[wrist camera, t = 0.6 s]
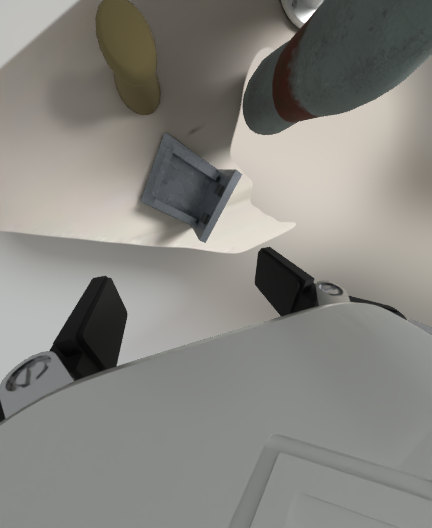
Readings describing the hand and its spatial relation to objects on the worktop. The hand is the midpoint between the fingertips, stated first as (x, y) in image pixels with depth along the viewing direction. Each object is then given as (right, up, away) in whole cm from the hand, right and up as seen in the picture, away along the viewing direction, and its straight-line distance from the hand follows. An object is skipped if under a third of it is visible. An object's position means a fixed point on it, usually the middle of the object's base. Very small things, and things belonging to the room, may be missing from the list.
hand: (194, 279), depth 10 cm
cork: (-10, +27, +13) cm, 32 cm away
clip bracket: (-5, +16, +21) cm, 27 cm away
